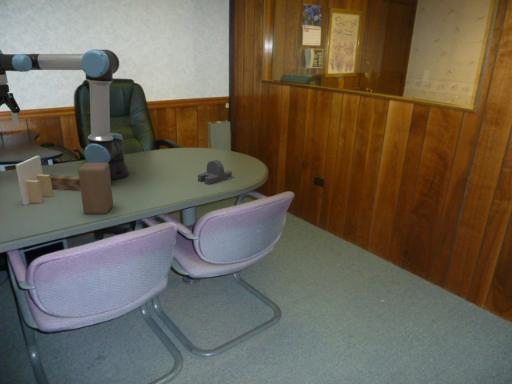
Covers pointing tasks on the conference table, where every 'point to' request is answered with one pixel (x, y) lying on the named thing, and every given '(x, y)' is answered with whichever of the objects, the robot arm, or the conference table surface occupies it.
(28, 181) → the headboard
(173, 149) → the conference table surface
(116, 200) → the conference table surface
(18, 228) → the conference table surface
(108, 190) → the wooden block
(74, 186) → the rail
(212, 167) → the bracket
